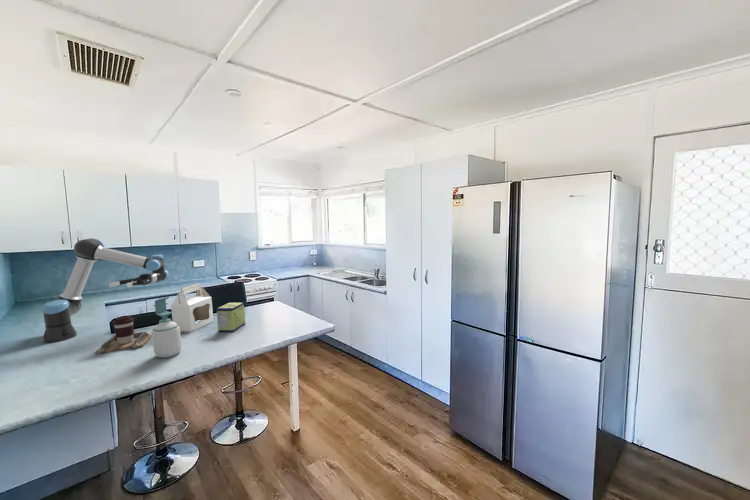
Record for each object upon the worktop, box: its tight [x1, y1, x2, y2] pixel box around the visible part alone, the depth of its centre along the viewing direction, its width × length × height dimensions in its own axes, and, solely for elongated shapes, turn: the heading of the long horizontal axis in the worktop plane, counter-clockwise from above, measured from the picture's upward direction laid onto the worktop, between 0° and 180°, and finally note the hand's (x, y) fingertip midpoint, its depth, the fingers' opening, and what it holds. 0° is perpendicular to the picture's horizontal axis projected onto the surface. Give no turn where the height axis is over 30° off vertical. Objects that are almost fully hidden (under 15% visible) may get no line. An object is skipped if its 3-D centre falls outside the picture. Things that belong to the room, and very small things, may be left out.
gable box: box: [170, 282, 214, 333], centre depth 217 cm, size 22×13×28 cm, turn 170°
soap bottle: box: [151, 296, 182, 359], centre depth 170 cm, size 12×12×31 cm
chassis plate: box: [95, 331, 153, 354], centre depth 187 cm, size 22×21×4 cm
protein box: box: [216, 301, 246, 333], centre depth 210 cm, size 10×16×16 cm
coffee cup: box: [111, 315, 135, 344], centre depth 187 cm, size 10×10×15 cm
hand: (118, 285), depth 203 cm, fingers open, 13 cm apart
